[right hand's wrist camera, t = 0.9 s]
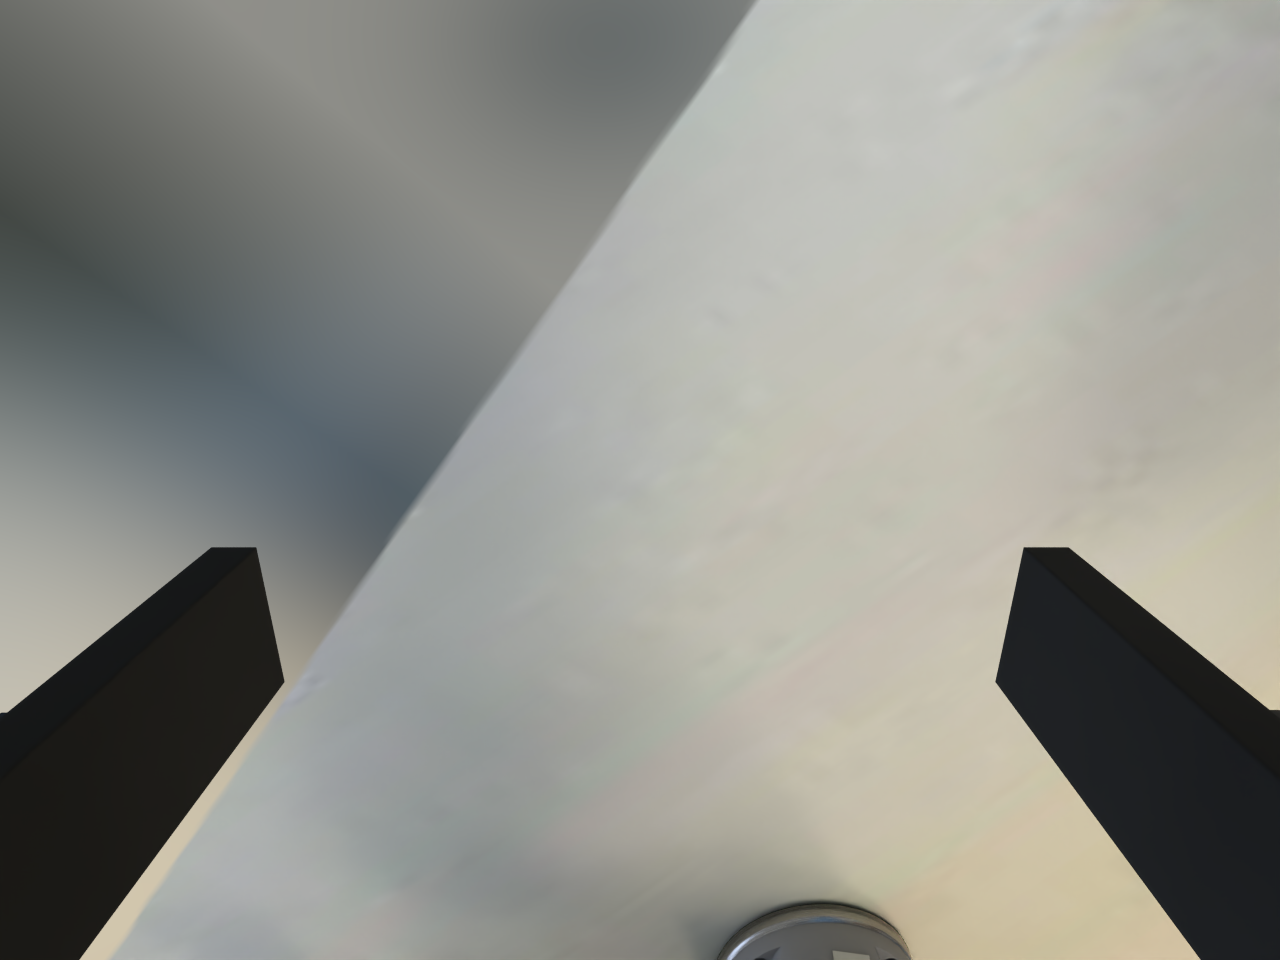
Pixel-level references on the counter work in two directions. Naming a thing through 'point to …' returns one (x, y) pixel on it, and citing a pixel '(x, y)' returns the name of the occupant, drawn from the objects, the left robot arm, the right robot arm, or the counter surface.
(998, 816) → the counter surface
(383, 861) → the counter surface
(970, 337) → the counter surface
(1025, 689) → the right robot arm
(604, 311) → the counter surface
